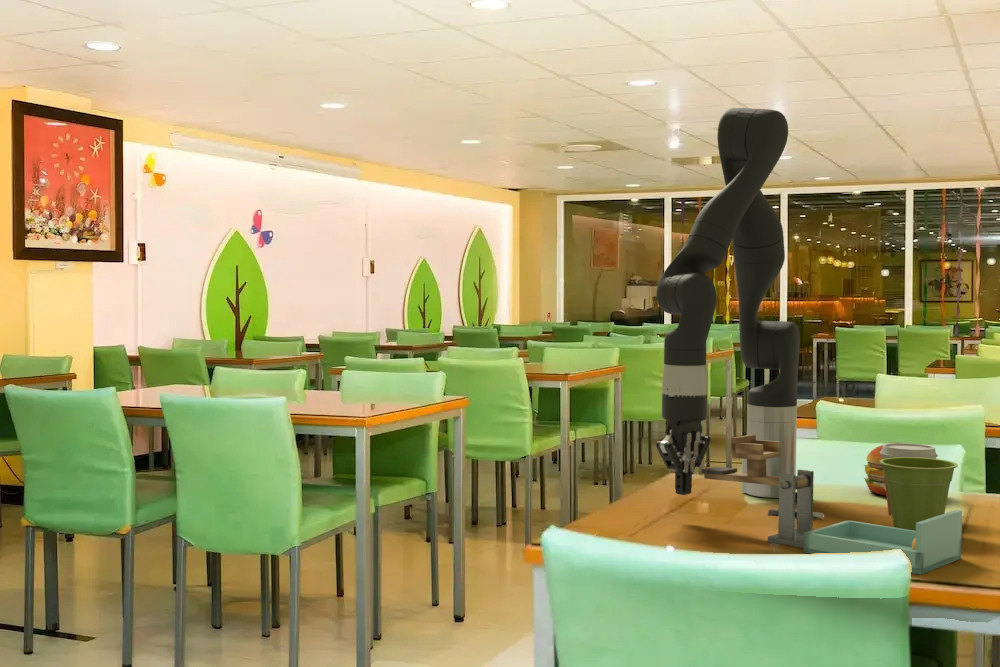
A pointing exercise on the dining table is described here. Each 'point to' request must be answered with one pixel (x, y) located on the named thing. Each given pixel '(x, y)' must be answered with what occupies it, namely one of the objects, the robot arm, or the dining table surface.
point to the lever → (752, 463)
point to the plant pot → (917, 488)
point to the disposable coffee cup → (905, 451)
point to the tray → (894, 540)
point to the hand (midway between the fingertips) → (683, 494)
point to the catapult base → (787, 510)
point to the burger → (875, 472)
